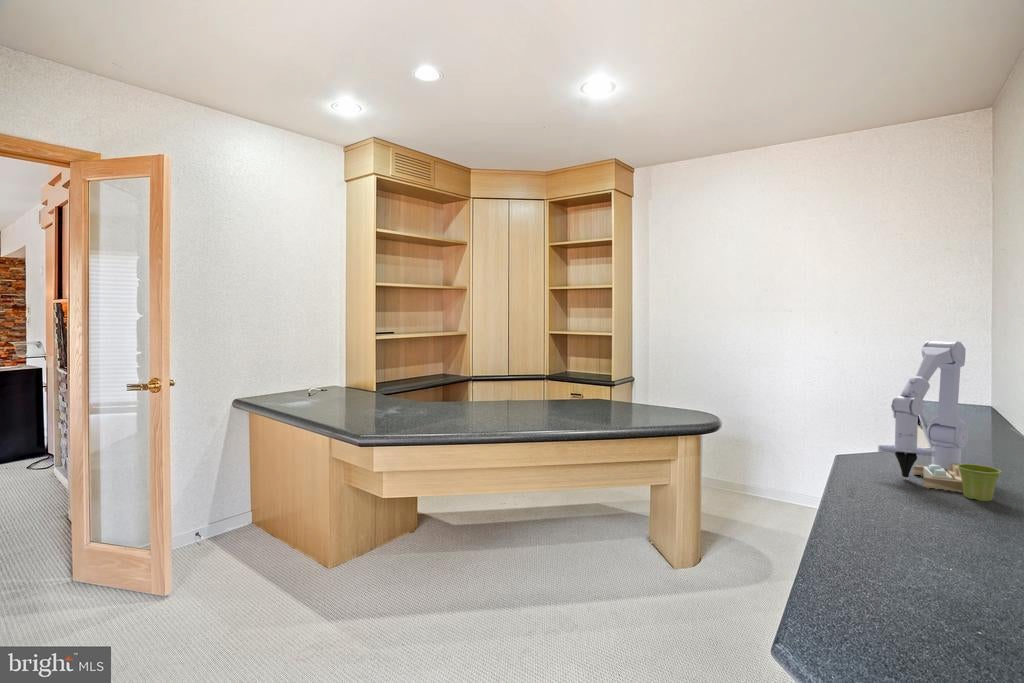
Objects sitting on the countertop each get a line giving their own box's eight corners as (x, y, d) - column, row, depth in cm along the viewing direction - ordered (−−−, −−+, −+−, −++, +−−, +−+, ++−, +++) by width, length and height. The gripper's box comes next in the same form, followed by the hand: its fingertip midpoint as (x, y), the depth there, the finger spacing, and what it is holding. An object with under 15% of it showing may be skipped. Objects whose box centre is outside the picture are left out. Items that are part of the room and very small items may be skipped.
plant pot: (982, 493, 158) (983, 464, 158) (1009, 504, 149) (1010, 472, 148) (948, 492, 159) (949, 463, 159) (972, 503, 149) (973, 472, 149)
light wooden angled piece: (913, 474, 178) (913, 459, 178) (961, 479, 172) (962, 463, 172) (924, 487, 163) (924, 471, 163) (977, 493, 157) (978, 476, 157)
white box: (923, 477, 175) (923, 462, 175) (942, 479, 172) (942, 464, 172) (931, 487, 164) (932, 471, 164) (952, 489, 162) (953, 473, 162)
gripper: (880, 434, 171) (879, 476, 172) (937, 438, 165) (936, 482, 165) (877, 430, 178) (876, 471, 178) (932, 434, 171) (931, 476, 171)
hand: (905, 476), depth 172 cm, fingers closed
